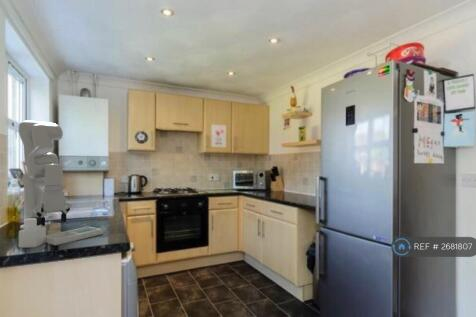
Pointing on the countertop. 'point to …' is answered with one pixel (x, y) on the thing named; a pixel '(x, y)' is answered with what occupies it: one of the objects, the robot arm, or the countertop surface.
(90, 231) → the organiser tray
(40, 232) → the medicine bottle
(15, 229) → the countertop surface
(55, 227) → the wooden block
